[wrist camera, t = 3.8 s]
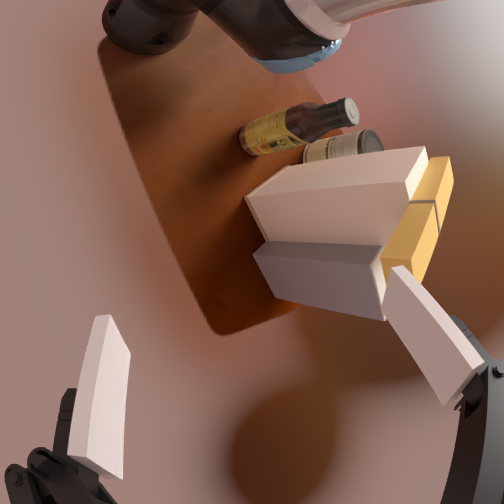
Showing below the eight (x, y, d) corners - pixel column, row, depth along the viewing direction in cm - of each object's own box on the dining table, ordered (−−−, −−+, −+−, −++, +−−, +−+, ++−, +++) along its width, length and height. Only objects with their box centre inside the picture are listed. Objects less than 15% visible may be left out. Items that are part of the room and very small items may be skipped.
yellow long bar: (387, 291, 25) (417, 295, 23) (379, 256, 24) (411, 259, 21) (436, 182, 37) (454, 181, 35) (430, 157, 36) (449, 156, 33)
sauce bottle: (240, 159, 47) (343, 132, 32) (234, 123, 46) (332, 85, 31) (268, 156, 51) (367, 134, 36) (262, 123, 50) (357, 92, 35)
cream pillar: (266, 243, 52) (418, 252, 31) (243, 197, 48) (404, 180, 27) (304, 207, 58) (437, 203, 38) (286, 165, 54) (424, 144, 34)
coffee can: (332, 152, 64) (386, 143, 53) (328, 193, 63) (385, 189, 53) (304, 132, 57) (363, 118, 47) (299, 177, 57) (361, 169, 46)
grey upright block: (275, 297, 54) (385, 321, 37) (252, 254, 50) (371, 265, 33) (310, 258, 60) (411, 267, 43) (292, 216, 56) (401, 214, 39)
